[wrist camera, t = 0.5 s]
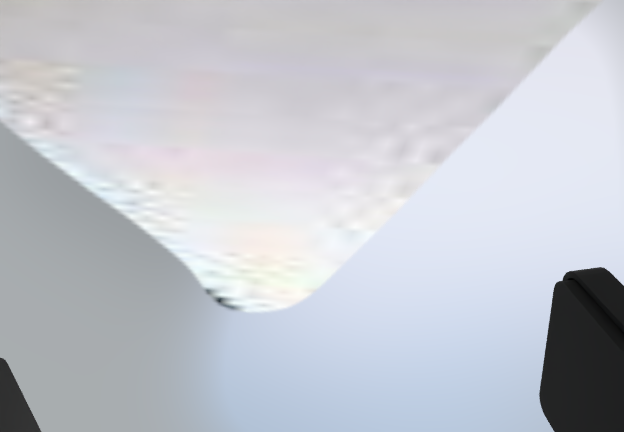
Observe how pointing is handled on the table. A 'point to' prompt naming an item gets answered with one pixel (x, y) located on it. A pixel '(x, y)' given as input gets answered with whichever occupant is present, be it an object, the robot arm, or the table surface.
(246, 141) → the table surface
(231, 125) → the table surface
